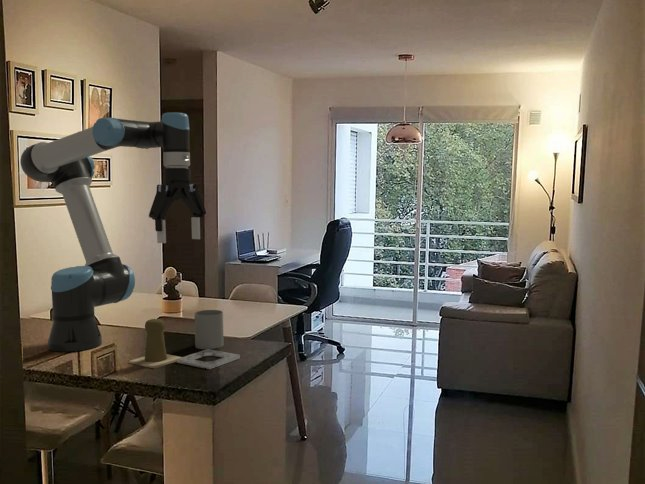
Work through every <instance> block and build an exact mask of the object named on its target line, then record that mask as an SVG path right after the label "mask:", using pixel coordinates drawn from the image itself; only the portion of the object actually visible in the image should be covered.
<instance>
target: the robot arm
mask: <svg viewBox="0 0 645 484" xmlns="http://www.w3.org/2000/svg"><path fill="white" fill-rule="evenodd" d="M190 130H191V129H190V120H189V115H188V114H187V113H184V112H165V113H162V115H161V120H160V121H143V120H132V119H124V118H115V117H100V118H98V119H96V121H95V122H94V124H93V126H91V127H87V128H86V129H85V128H84V129H82V130H81V131H77V132H75V133H72V134H69V135H66V136H64V137H61V138H59V139H55V140H52V141H50V142H45V141H40V142H37V143H35V144H32V145H29V146H28V147H26V149H24V150H23V152H22V153H21V155H20V166H21V169H22V172H24V174H25V175H26V176H27V177H28V178H30V179H31V180H33V181H36V182H40V183H52V184H53V187H54V189H55V192H57V193H58V194H61V195H62V198H63V199H64V200H63V201H64V203H65V205H66V206H65V207H66V208H67V212H68V214H69V217H70V220H71V223H72V225H73V228H74V231H75V233H76V234H75V235H76V238H77V239H78V243H79V246H80V249H81V252H82V254H83V256H84V259H85V264H84V265H78V266H70V267H69V266H68V267H66V268H62V269H58V270H57V271H56V272H54V273H53V274H52V276H51V281H50V282H51V284H50V291H51V302H52V303H51V304H52V306H51V307H52V320H53V322H52V327H51V328H50V332H49V336H48V337H49V338H48V339H47V348H48V349H49V350H50V351H52V352H62V353H63V352H65V353H66V352H67V353H68V352H77V351H78V352H79V351H80V352H81V351H86V350H91V349H93V348H97V347H99V346H101V345H102V343H103V338H102V337H103V335H102V334H101V331H100V328H99V326H98V323H97V321H96V316H95V308H96V307H100V306H101V307H102V306H105V305H110V304H117V303H119V302H122V301H125V300H127V299H129V298H130V297H131V295H132V294H133V292H134V289H135V286H136V276H135V273H134V271H133V269H132V268H131V267H129V265H127V264H123V263H122V261H121V257H120V256H118V255H117V254H115V253H113V250H112V247H111V244H110V241H109V238H108V235H107V233H106V230H105V228H104V224H103V222H102V220H101V216H100V214H99V211H98V210H99V209H98V208H97V205H96V202H95V199H94V197H93V194H92V191H91V188H90V186H91V184H92V183H93V180H92V179H93V176H94V174H95V167H96V166H95V162H94V159H93V157H92V156H94V155H98V154H101V153H104V152H106V151H109V150H112V149H115V148H119V147H124V148H126V147H128V148H129V147H130V148H136V149H141V150H142V149H145V150H148V149H156V148H157V149H158V148H162V153H163V154H162V155H163V159H162V160H163V166H164V167H165V168H164V169H163V180H164V181H165V184H157V185H156V192H155V195H154V199H153V201H152V204H151V208H150V210H149V212H148V213H149V214H148V218H149V219H152V220H153V221H154V223H155V229H154V230H155V232H156V239H157V241H156V242H157V243H158V244H166V243H167V233H166V232H167V229H166V219H164V218H165V216H166V214H167V212H168V210H169V209H170V207H171V206H172V204H173V202H175V201H179V200H180V201H183V203H184V204H185V205H186V207H187V209H188V210H189V211H190V213H191V215H192V216H193V217H191V218H190V219H191V220H190V221H191V240H201V228H202V218H203V217H204V216H205V215H206V214H207V211H206V208H205V206H204V204H203V201H202V198H201V196H200V194H199V193H200V192H199V187H198V184H197V183H189V182H190V181H191V180H192V178H191V177H192V176H191V175H192V174H191V168H189V167H190V166H191V153H190V152H191V151H190V147H191V146H190Z"/></svg>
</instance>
